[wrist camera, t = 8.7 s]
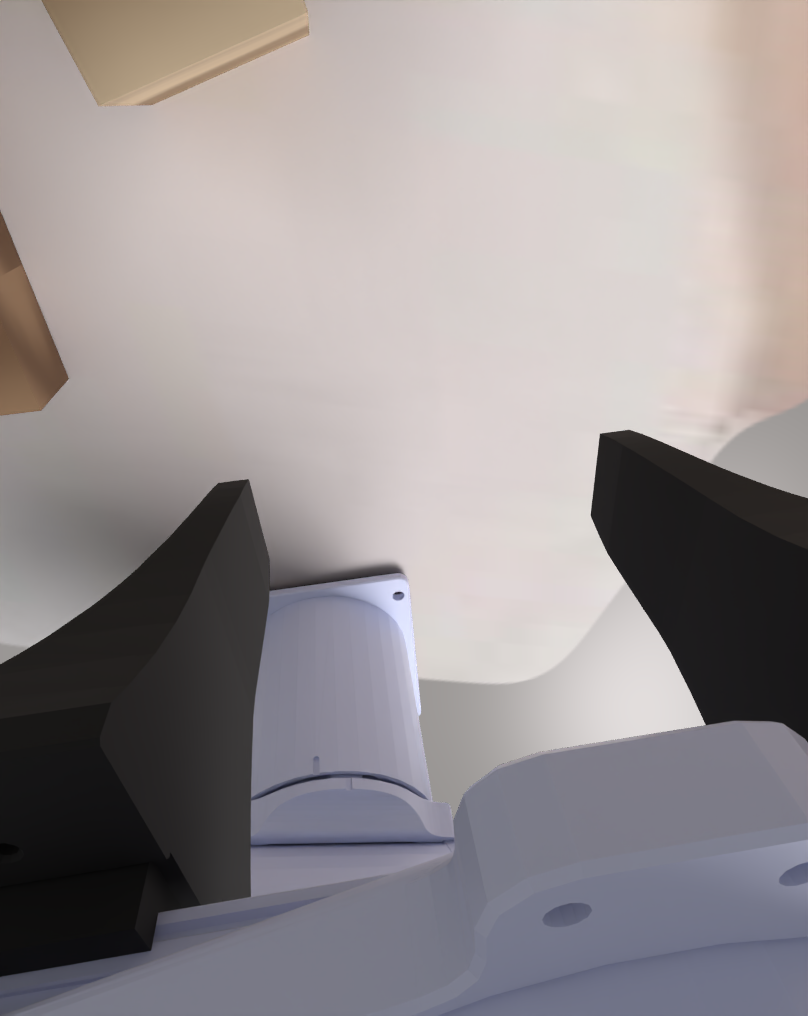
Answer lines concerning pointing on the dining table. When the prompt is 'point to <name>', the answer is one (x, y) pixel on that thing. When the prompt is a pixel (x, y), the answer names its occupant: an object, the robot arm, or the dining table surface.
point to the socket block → (23, 339)
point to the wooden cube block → (169, 41)
